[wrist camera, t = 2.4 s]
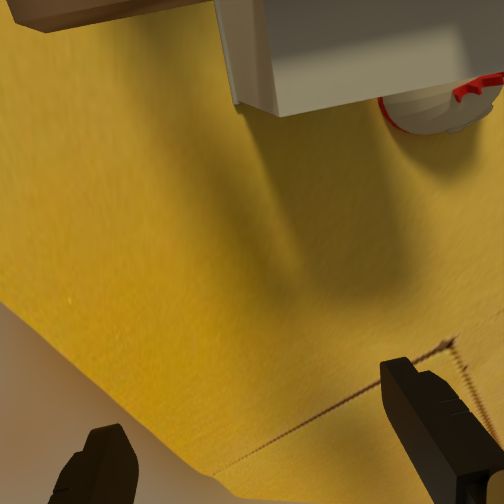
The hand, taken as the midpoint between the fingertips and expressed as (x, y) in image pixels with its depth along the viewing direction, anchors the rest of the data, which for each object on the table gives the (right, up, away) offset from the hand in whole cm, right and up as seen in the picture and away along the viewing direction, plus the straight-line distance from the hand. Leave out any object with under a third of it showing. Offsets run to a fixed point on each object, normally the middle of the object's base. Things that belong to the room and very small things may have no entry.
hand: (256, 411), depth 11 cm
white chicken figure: (+23, +28, +38) cm, 52 cm away
